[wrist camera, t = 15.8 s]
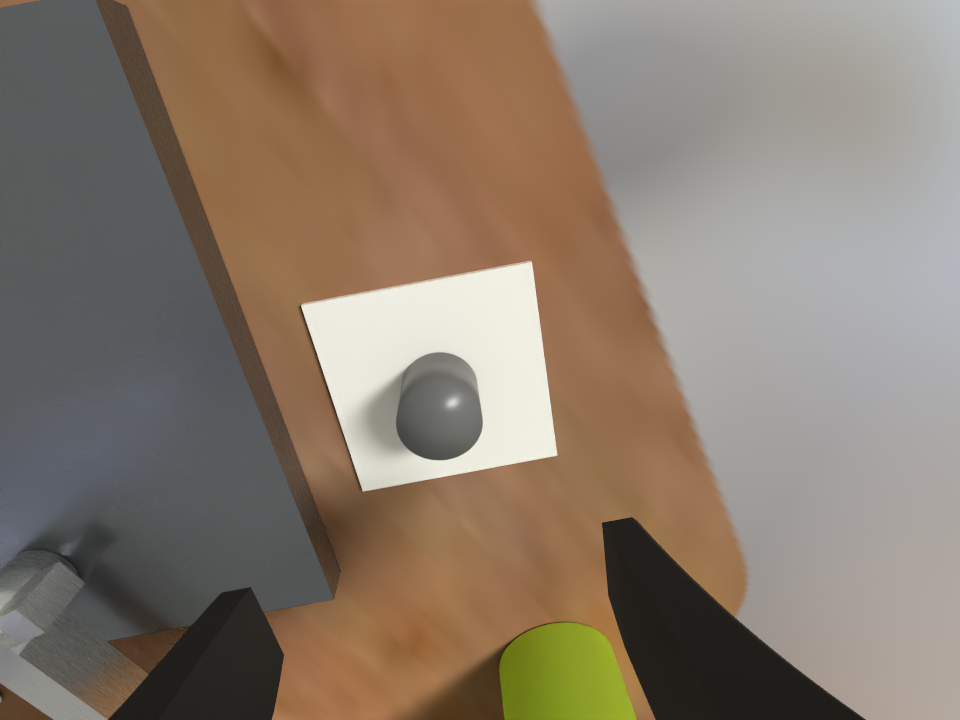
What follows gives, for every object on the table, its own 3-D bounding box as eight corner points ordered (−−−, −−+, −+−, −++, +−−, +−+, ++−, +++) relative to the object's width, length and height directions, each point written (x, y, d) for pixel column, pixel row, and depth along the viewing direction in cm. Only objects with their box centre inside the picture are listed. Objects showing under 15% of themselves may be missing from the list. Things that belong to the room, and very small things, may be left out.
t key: (-27, 576, 19) (-107, 650, 16) (65, 529, 18) (-1, 597, 16) (169, 726, 23) (132, 805, 20) (249, 691, 22) (223, 768, 20)
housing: (28, 628, 22) (0, 660, 21) (-379, 99, 14) (-470, 94, 12) (340, 571, 22) (333, 599, 21) (126, 6, 14) (91, -9, 12)
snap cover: (365, 479, 21) (351, 540, 18) (306, 298, 18) (276, 332, 15) (553, 444, 21) (573, 498, 18) (528, 257, 18) (547, 282, 15)
